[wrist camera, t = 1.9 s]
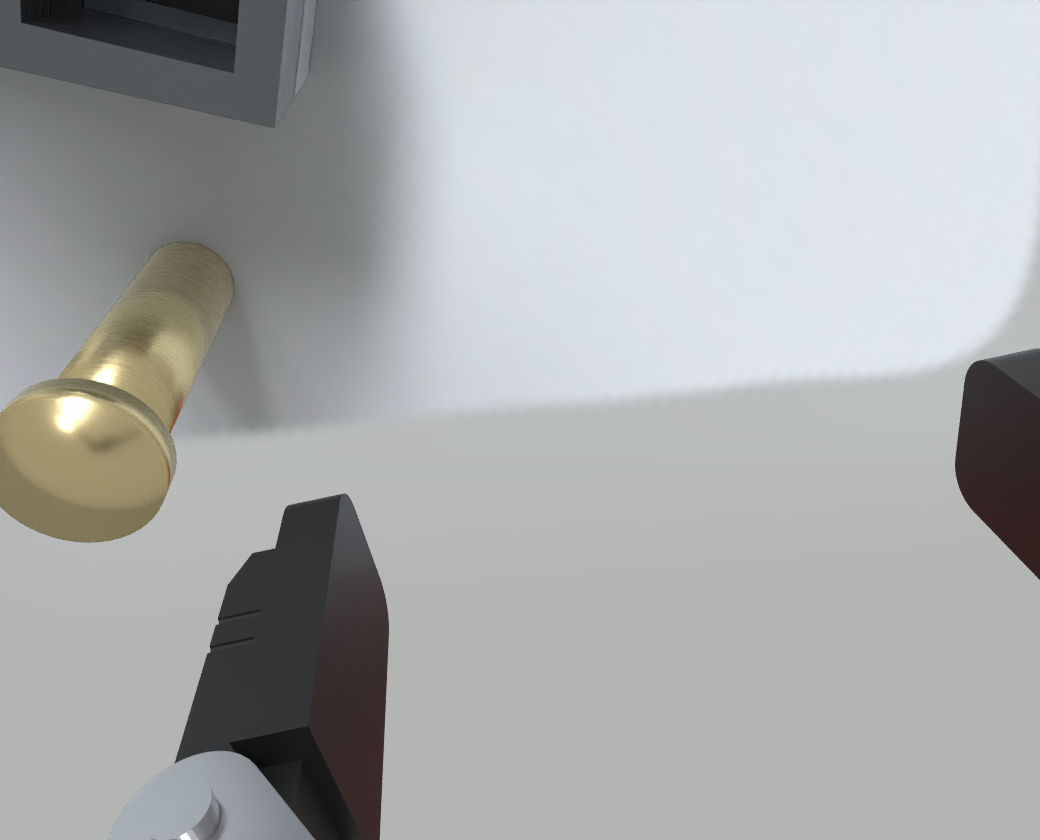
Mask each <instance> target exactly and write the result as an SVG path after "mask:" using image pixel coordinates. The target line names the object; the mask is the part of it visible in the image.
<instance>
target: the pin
mask: <svg viewBox="0 0 1040 840" xmlns="http://www.w3.org/2000/svg"><path fill="white" fill-rule="evenodd" d="M233 292H234V284H233V279H232V275H231V273H230V270H229V269H228V267H227V265H226V264H225V263H224V261H223V260H222V259H221V258H220V257H219V256H218V255H217V254H215V253H214V252H213V251H211V250H209V249H208V248H206V247H204V246H201V245H198V244H194V243H189V242H176V243H171V244H168V245H165V246H163V247H161V248H160V249H158V250H157V251H156V252H155V253H154V254H153V255H152V256H151V257H150V259H149V260H148V261H147V263H146V264H145V265H144V266H143V268H142V269H141V270H140V272H139V273H138V274H137V276H136V277H135V278H134V279H133V281H132V282H131V283H130V285H129V286H128V287H127V289H126V290H125V291H124V293H123V294H122V295H121V296H120V298H119V299H118V300H117V302H116V303H115V304H114V306H113V307H112V308H111V310H110V311H109V312H108V313H107V315H106V316H105V317H104V319H103V320H102V321H101V323H100V324H99V325H98V327H97V328H96V329H95V330H94V332H93V333H92V334H91V336H90V337H89V338H88V340H87V341H86V342H85V344H84V345H83V346H82V347H81V349H80V350H79V351H78V353H77V354H76V355H75V357H74V358H73V359H72V360H71V362H70V363H69V364H68V366H67V367H66V368H65V370H64V371H63V372H62V374H61V375H60V376H59V377H58V379H54V380H49V381H45V382H41V383H38V384H36V385H33V386H31V387H29V388H27V389H25V390H24V391H22V392H20V393H19V394H18V395H17V396H15V397H14V398H13V399H12V400H11V401H10V402H9V404H8V405H7V406H6V407H5V408H4V409H3V411H2V412H1V413H0V507H1V508H2V509H3V510H5V511H6V512H7V513H8V514H9V515H10V516H12V517H13V518H15V519H16V520H17V521H19V522H20V523H22V524H24V525H25V526H27V527H29V528H31V529H33V530H35V531H37V532H40V533H43V534H45V535H48V536H51V537H54V538H58V539H62V540H68V541H75V542H103V541H110V540H114V539H118V538H122V537H124V536H127V535H130V534H131V533H133V532H135V531H137V530H139V529H141V528H142V527H143V526H145V525H146V524H147V523H148V522H149V521H151V519H152V518H154V516H155V515H156V514H157V512H158V511H159V509H160V507H161V505H162V503H163V501H164V499H165V496H166V494H167V491H168V489H169V487H170V484H171V482H172V479H173V476H174V473H175V469H176V450H175V445H174V442H173V440H172V437H171V435H170V433H171V430H172V428H173V426H174V424H175V422H176V420H177V417H178V415H179V413H180V411H181V409H182V406H183V404H184V402H185V400H186V398H187V396H188V393H189V391H190V389H191V387H192V385H193V383H194V380H195V378H196V376H197V374H198V372H199V369H200V367H201V365H202V363H203V361H204V359H205V356H206V354H207V352H208V350H209V348H210V346H211V343H212V341H213V339H214V337H215V335H216V333H217V330H218V328H219V326H220V324H221V322H222V319H223V317H224V315H225V313H226V311H227V309H228V306H229V304H230V302H231V300H232V297H233Z"/></svg>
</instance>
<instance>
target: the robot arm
mask: <svg viewBox="0 0 1040 840" xmlns="http://www.w3.org/2000/svg"><path fill="white" fill-rule="evenodd" d="M955 471H956V477H957V481H958V485H959V488H960V491H961V493H962V495H963V497H964V499H965V501H966V502H967V504H968V505H969V507H970V508H971V509H972V510H973V511H974V512H975V513H976V514H977V515H978V516H979V517H980V519H981V520H982V521H983V522H984V523H985V524H986V525H987V526H988V527H989V528H990V529H991V530H992V531H993V532H994V533H995V534H996V535H997V536H998V537H999V538H1000V539H1001V540H1002V541H1003V542H1004V543H1005V544H1006V545H1007V546H1008V547H1009V549H1010V550H1012V552H1013V553H1014V554H1015V555H1016V556H1017V557H1018V558H1019V559H1020V560H1021V561H1022V562H1023V563H1024V564H1025V565H1026V566H1027V567H1028V568H1029V569H1030V570H1031V571H1032V572H1033V573H1034V574H1035V575H1036V576H1037V577H1038V579H1039V580H1040V349H1032V350H1027V351H1022V352H1017V353H1013V354H1008V355H1004V356H999V357H994V358H990V359H984V360H980V361H976V362H974V363H973V364H972V365H971V366H970V367H969V369H968V371H967V374H966V378H965V383H964V391H963V401H962V408H961V417H960V425H959V434H958V442H957V451H956V458H955ZM218 620H219V625H216V626H215V630H214V633H213V637H212V640H211V643H210V649H211V652H210V653H208V654H207V657H206V660H205V663H204V667H203V670H202V673H201V677H200V680H199V684H198V687H197V690H196V694H195V697H194V701H193V704H192V707H191V711H190V714H189V717H188V721H187V724H186V727H185V731H184V734H183V737H182V741H181V744H180V747H179V751H178V754H177V757H176V761H175V764H173V765H171V766H169V767H168V768H166V769H165V770H163V771H162V772H160V773H159V774H157V775H156V776H155V777H153V778H152V779H151V780H150V781H149V782H147V783H146V784H145V785H144V786H143V787H142V788H141V789H140V790H139V791H138V792H137V793H136V794H135V795H134V796H133V797H132V799H131V800H130V801H129V802H128V803H127V805H126V806H125V807H124V809H123V810H122V812H121V813H120V815H119V817H118V818H117V820H116V822H115V824H114V826H113V828H112V830H111V832H110V835H109V839H108V840H380V819H381V797H382V796H381V795H382V774H383V752H384V729H385V706H386V684H387V663H388V639H389V620H388V611H387V604H386V598H385V594H384V590H383V586H382V583H381V580H380V577H379V574H378V571H377V569H376V566H375V563H374V561H373V558H372V555H371V552H370V549H369V547H368V544H367V541H366V539H365V536H364V533H363V530H362V527H361V525H360V522H359V519H358V516H357V514H356V511H355V508H354V506H353V503H352V501H351V500H350V498H349V496H348V495H347V494H340V495H335V496H331V497H326V498H321V499H316V500H312V501H307V502H302V503H297V504H292V505H289V506H287V507H286V509H285V511H284V515H283V518H282V523H281V527H280V531H279V535H278V540H277V544H276V548H275V549H271V550H266V551H261V552H256V553H253V554H252V555H251V556H250V557H249V559H248V560H247V561H246V562H245V564H244V565H243V566H242V568H241V569H240V570H239V571H238V573H237V574H236V575H235V577H234V578H233V579H232V580H231V582H230V583H229V584H228V586H227V590H226V593H225V596H224V600H223V603H222V606H221V610H220V613H219V616H218Z"/></svg>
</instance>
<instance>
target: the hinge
mask: <svg viewBox="0 0 1040 840" xmlns="http://www.w3.org/2000/svg"><path fill="white" fill-rule="evenodd" d="M316 3H317V0H239V14H238V24H235V23H231V22H227V21H223V20H219V19H215V18H211V17H207V16H203V15H199V14H195V13H191V12H187V11H183V10H179V9H175V8H171V7H167V6H163V5H159V4H155V3H151V2H147V1H143V0H0V66H1V67H5V68H10V69H14V70H19V71H23V72H28V73H32V74H36V75H41V76H45V77H50V78H54V79H59V80H63V81H67V82H72V83H76V84H81V85H85V86H90V87H94V88H99V89H103V90H107V91H112V92H116V93H121V94H125V95H130V96H134V97H139V98H143V99H147V100H152V101H156V102H161V103H165V104H170V105H174V106H179V107H183V108H187V109H192V110H196V111H201V112H205V113H210V114H214V115H219V116H223V117H227V118H232V119H236V120H241V121H245V122H250V123H254V124H259V125H263V126H267V127H272V128H275V127H276V125H277V124H278V122H279V121H280V119H281V118H282V116H283V115H284V113H285V111H286V110H287V108H288V107H289V105H290V104H291V102H292V100H293V99H294V97H295V96H296V94H297V93H298V91H299V90H300V88H301V86H302V85H303V83H304V82H305V80H306V79H307V77H308V72H309V63H310V55H311V46H312V38H313V29H314V20H315V12H316Z"/></svg>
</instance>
